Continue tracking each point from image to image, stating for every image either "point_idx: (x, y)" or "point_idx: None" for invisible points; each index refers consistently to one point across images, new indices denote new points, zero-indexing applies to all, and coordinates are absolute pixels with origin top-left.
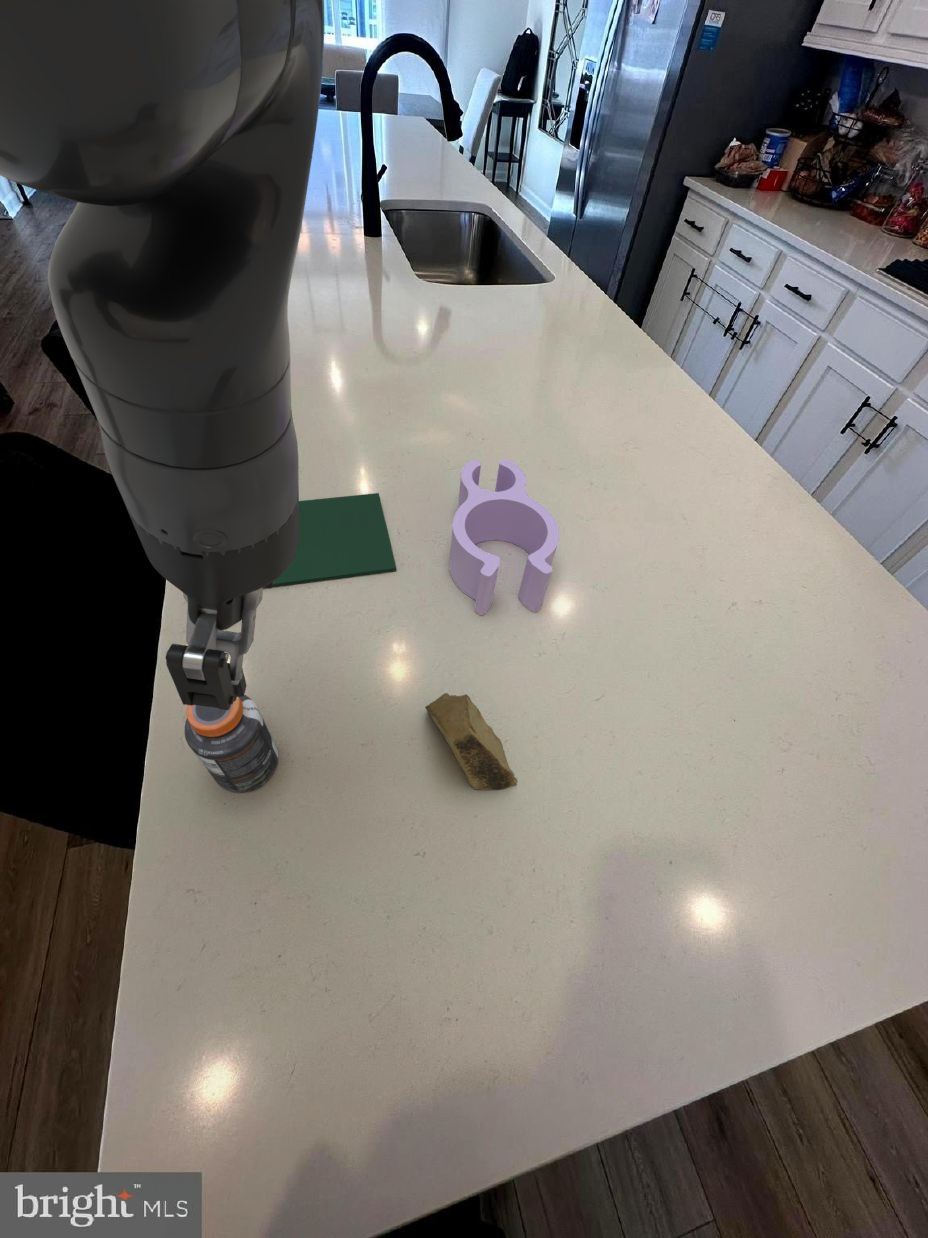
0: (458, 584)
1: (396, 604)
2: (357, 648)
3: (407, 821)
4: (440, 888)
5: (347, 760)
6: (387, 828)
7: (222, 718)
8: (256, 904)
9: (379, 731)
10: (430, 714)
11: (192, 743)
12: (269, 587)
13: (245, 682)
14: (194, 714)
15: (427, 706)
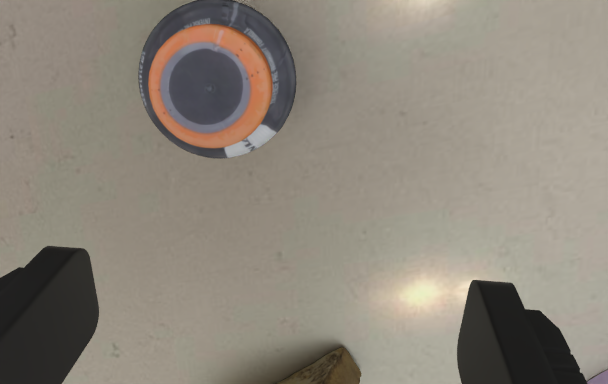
0: (600, 381)
1: (565, 277)
2: (469, 221)
3: (160, 330)
4: (73, 378)
5: (250, 234)
6: (146, 305)
7: (180, 119)
8: (10, 138)
9: (303, 276)
10: (330, 358)
11: (154, 35)
12: (458, 352)
13: (73, 361)
14: (184, 50)
15: (333, 369)
